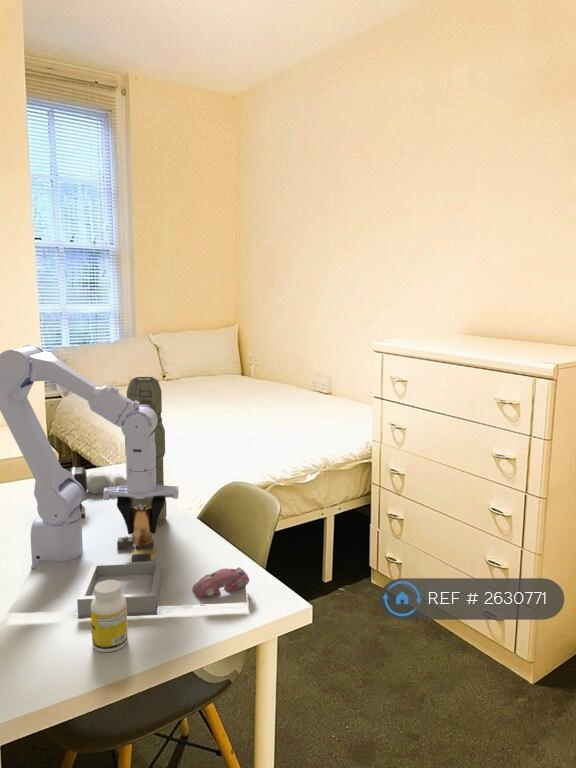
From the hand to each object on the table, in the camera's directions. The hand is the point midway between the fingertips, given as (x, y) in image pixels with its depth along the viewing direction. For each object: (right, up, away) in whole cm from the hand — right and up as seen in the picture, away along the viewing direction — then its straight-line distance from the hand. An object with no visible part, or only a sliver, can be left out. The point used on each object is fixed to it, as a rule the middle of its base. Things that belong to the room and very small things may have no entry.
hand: (142, 531), depth 121 cm
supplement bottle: (+1, -11, -26) cm, 29 cm away
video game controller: (+17, -9, -12) cm, 23 cm away
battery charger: (-21, -2, +24) cm, 32 cm away
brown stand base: (0, -6, +1) cm, 6 cm away
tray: (0, -9, -13) cm, 15 cm away
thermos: (-3, -3, +18) cm, 18 cm away
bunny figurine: (-21, +1, +40) cm, 45 cm away
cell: (0, -2, 0) cm, 2 cm away
